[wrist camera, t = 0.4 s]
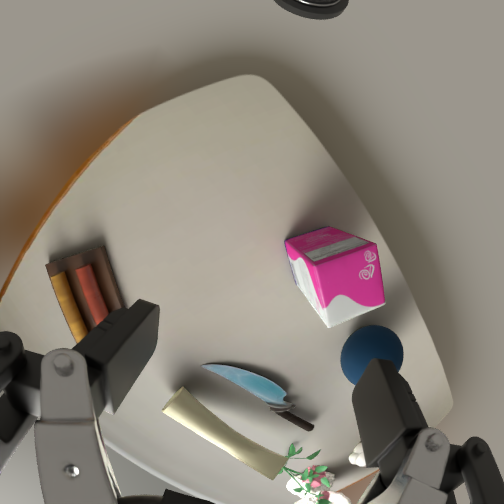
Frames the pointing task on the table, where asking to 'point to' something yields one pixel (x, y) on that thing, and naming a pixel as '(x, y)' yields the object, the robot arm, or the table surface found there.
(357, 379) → the christmas ornament
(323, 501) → the flower vase
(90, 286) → the rod rack
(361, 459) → the microfossil shell
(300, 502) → the cherub figurine
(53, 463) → the robot arm
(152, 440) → the table surface
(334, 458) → the table surface
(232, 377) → the knife
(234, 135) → the table surface
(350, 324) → the table surface
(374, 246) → the supplement box
